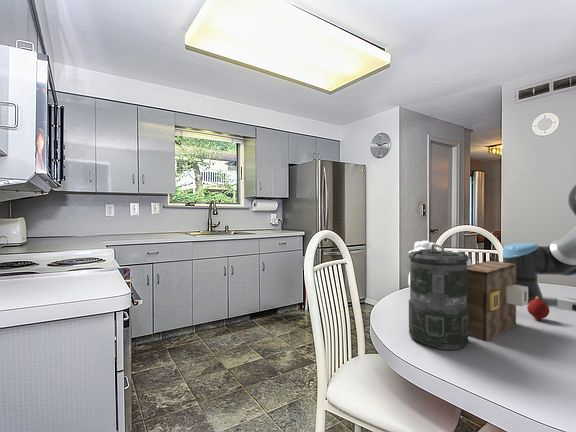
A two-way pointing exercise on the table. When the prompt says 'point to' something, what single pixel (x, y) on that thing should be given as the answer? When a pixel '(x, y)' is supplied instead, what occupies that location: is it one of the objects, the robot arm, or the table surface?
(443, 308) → the canister
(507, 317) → the console
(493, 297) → the button two
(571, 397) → the table surface
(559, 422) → the table surface
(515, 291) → the button one
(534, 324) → the table surface
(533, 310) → the onion
